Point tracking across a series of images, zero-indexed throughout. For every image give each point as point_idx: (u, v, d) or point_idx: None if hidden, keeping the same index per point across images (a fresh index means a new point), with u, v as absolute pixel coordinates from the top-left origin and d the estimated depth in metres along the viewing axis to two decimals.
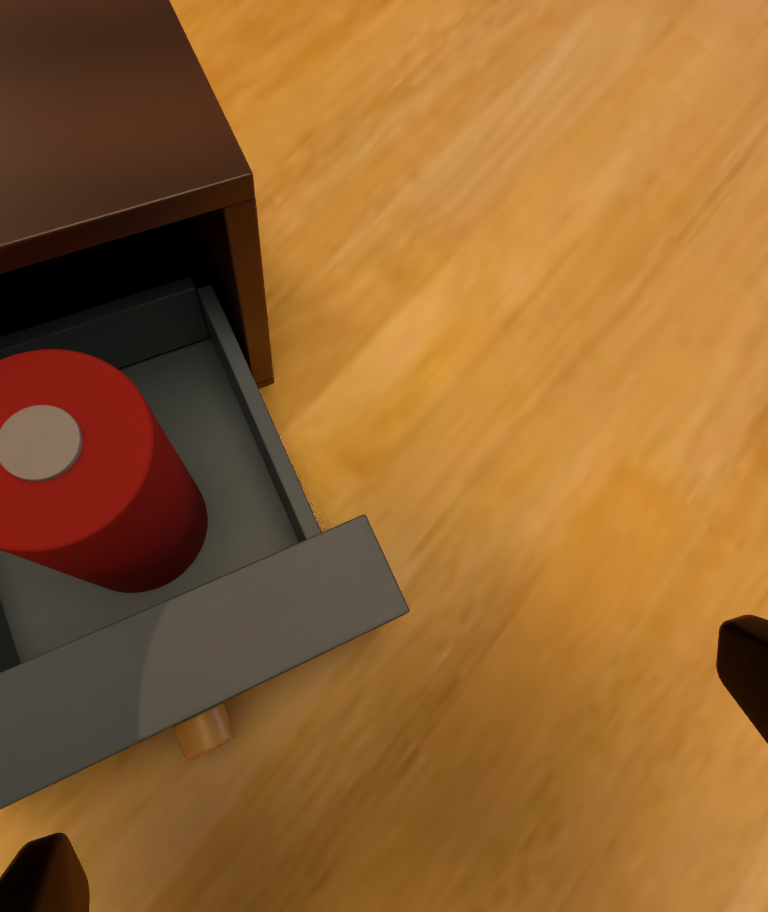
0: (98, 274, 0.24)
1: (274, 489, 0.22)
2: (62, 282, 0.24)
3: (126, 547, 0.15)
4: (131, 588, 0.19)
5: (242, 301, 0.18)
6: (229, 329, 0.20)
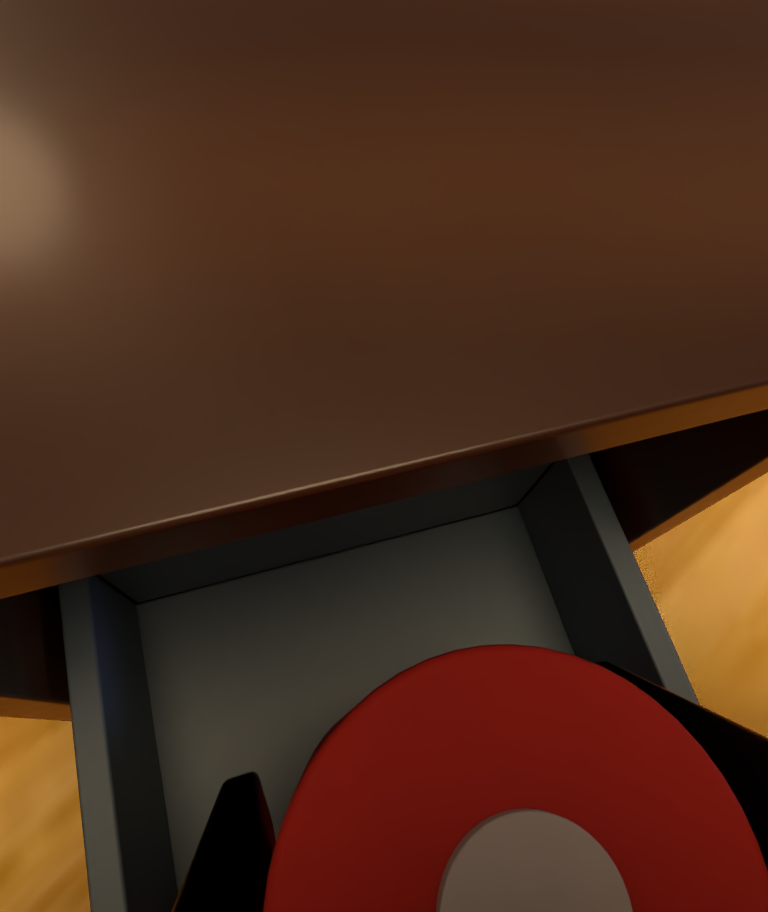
0: None
1: None
2: None
3: None
4: None
5: (697, 502, 0.11)
6: (618, 526, 0.12)
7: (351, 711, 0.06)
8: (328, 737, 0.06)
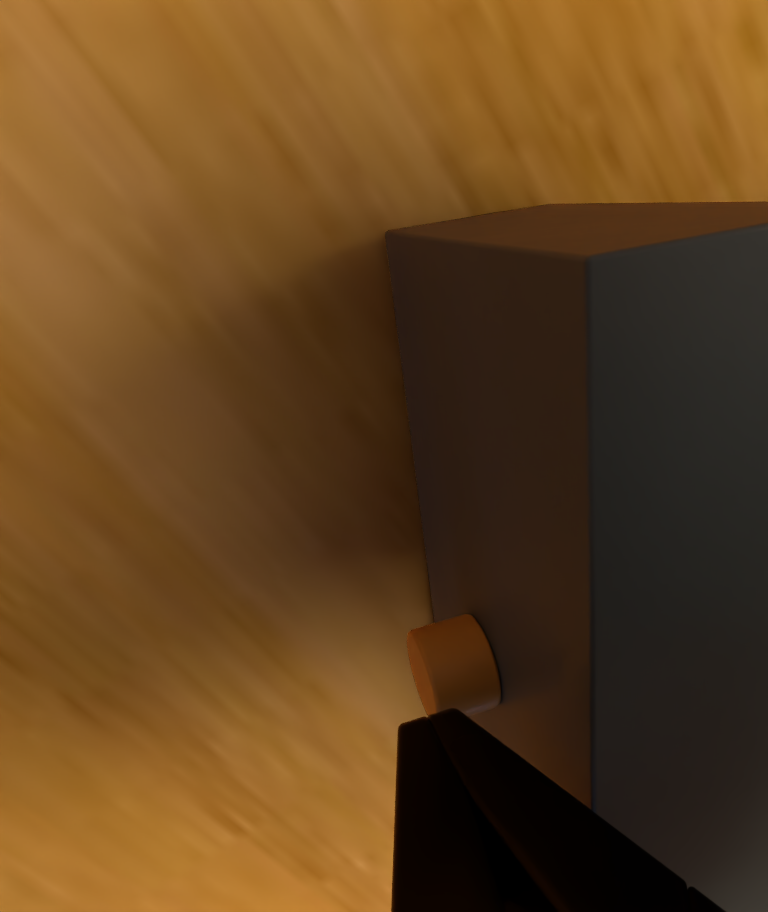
0: None
1: None
2: None
3: None
4: None
5: None
6: None
7: None
8: None
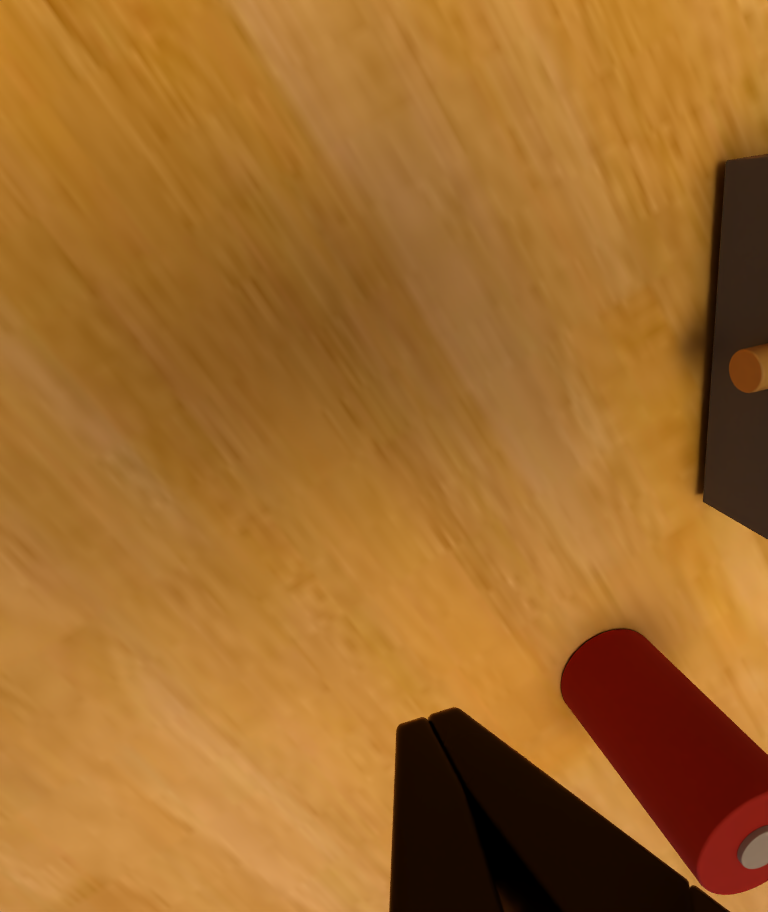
0: None
1: None
2: None
3: (654, 815, 0.22)
4: (579, 692, 0.26)
5: None
6: None
7: None
8: None
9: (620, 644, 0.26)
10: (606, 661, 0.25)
